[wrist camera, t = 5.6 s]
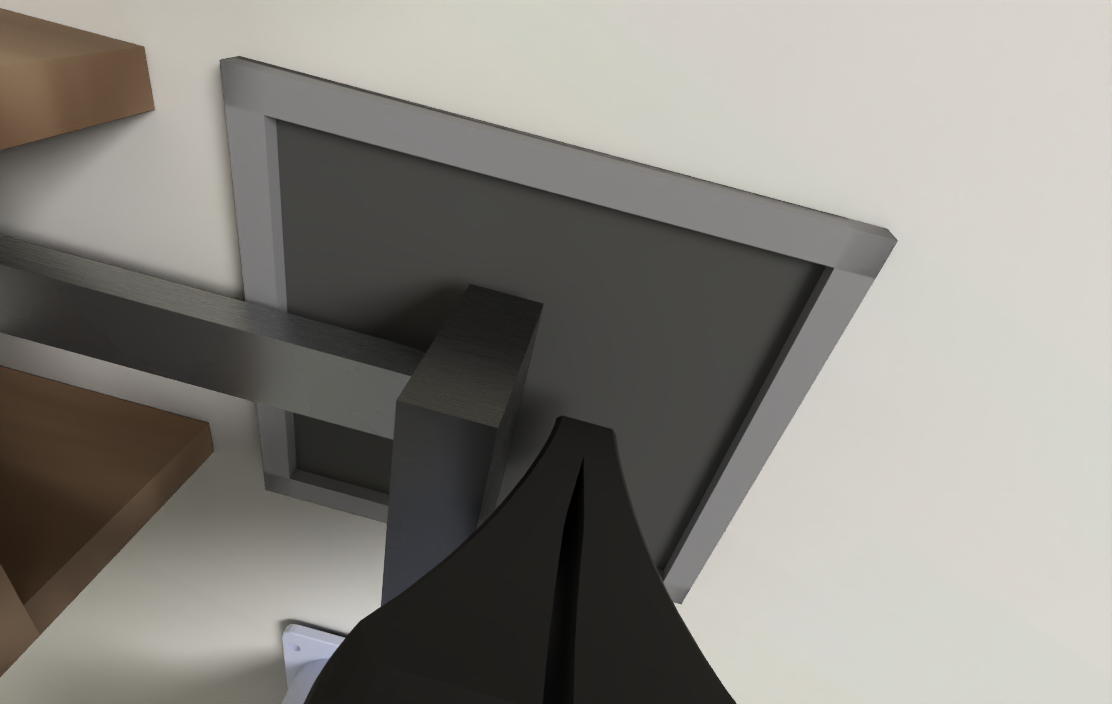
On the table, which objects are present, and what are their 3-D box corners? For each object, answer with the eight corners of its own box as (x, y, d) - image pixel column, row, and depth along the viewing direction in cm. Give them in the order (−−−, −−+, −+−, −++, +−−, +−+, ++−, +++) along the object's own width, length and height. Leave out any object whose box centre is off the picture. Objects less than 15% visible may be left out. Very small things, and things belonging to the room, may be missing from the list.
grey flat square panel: (680, 586, 18) (681, 604, 17) (276, 475, 18) (265, 489, 18) (887, 229, 11) (897, 240, 11) (239, 55, 11) (220, 60, 11)
